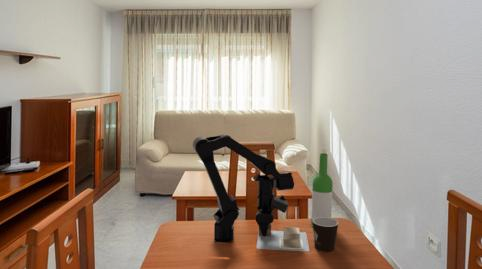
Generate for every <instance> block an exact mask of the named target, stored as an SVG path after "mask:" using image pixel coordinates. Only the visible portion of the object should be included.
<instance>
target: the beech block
mask: <svg viewBox="0 0 482 269" xmlns="http://www.w3.org/2000/svg"><path fill="white" fill-rule="evenodd" d="M282 231H283V247H292V248H299V247H300V232H301V231H300V228H299V227H290V226H289V227H287V226H285V227H284V226H283V230H282Z"/></svg>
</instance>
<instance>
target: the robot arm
mask: <svg viewBox="0 0 482 269" xmlns="http://www.w3.org/2000/svg"><path fill="white" fill-rule="evenodd" d="M192 148H193V150H194V152H195V153H196V155H197V156H198V157H199V159H200V160H201V162H202V163H203V166H204V168H205V170H206V173H207V175H208V178H209V180H210V183H211V185H212V188H213V190H214V192H215V196H216V197H217V206H218V208H219V209H217V210H216V211H215V213H214V214H213V218H214V220H215V223H214V234H213V235H214V238H213V242H214V243H232V241H233V240H234V238H235V226H234V224H235V221H236V220H237V219H238V218H239V214H240V212H239V211H240V210H241V209H240V208H239V206H238V204H237V200H236V198H234V196H233V195H232V194H231V195H228V191H227V189H226V187H225V184H224V182H223V179H222V177H221V174H220V172H219V170H218V167H217V164H216V162H215V157H214V156H215V154H214V151H217V150H220V149H223V148H228V149H229V150H231V151H232V152H233V153H235V154H237V155H239V156H240V157H242V158H243V159H245V160H247V161H249V162H250V163H251V164H252V165H253V166H254V167H255V168H256V169H257V170H258V171H259V172H261V173H263V174H260V173H256V174H255V175H254V176H253V177H252V179H253V180H254V181H255V182H257V212H256V214H255V222H256V223H257V226H258V229H259V228H260V230H261V233H262V235H263V236H264V237H266V234H267V230H268V226H269V224H270V223H271V224H273V222H274V212H273V211H274V210H277V211H280V212H281V213H284V214H285V213H286V212H287V210H288V207H289V201H288V200H286V197H285V195H283V194H282V195H280V196H275V193H274V189H276V191H290V190H293V189H294V188H295V181H294V178H293V173H292V172H291V171H283V172H279V170H277V166H276V162H275V161H274V160H273V159H270V158H268V157H266V156H265V155H261V154H259V153H255V152H254V151H253V150H251V149H249V148H248V147H246V146H245V145H243V144H241V143H240V142H239V141H236V140H235V139H233V138H232V137H231V136H230V135H228V134H225V133H223V134H219V135H213V136H208V137H203V136H198V137H196V138H195V139H194V140H193V141H192ZM270 175H271V176H270Z"/></svg>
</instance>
